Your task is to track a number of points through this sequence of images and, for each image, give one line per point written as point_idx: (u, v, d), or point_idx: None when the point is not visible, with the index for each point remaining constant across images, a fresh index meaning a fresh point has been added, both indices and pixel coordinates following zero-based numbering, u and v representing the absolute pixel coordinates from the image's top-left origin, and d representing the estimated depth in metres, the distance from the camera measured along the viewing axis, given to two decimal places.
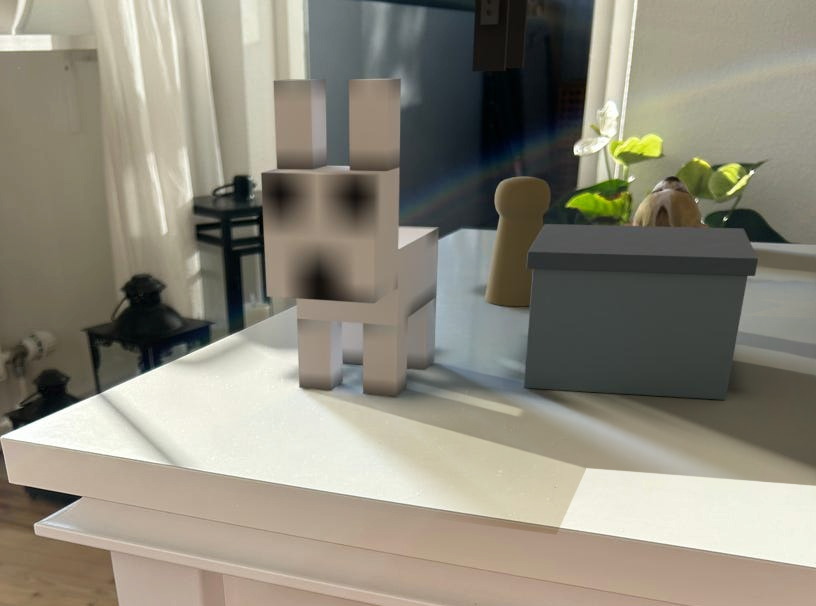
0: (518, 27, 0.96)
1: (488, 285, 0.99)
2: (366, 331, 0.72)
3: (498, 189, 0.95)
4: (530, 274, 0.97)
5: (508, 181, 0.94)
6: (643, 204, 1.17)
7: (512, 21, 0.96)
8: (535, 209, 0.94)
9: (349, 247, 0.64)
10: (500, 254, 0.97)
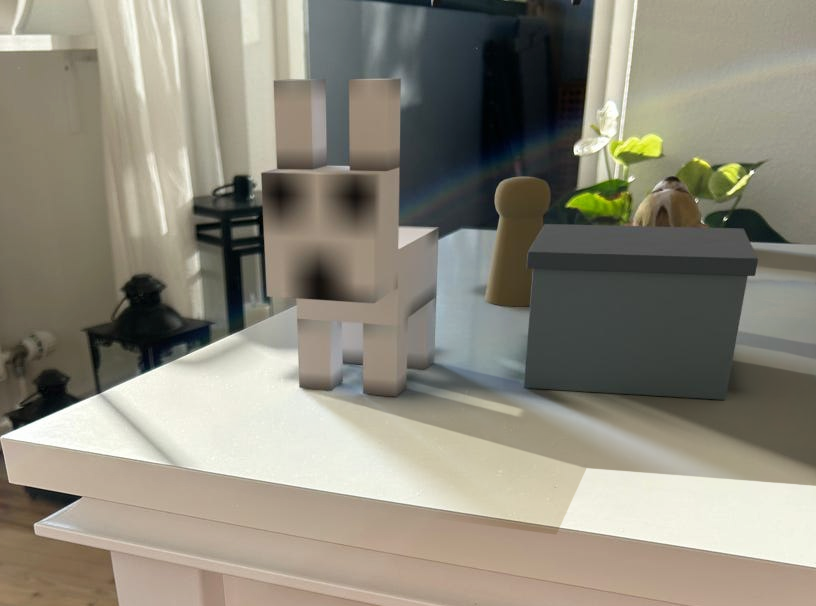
0: None
1: (488, 285, 0.99)
2: (366, 331, 0.72)
3: (498, 189, 0.95)
4: (530, 274, 0.97)
5: (509, 181, 0.94)
6: (643, 204, 1.17)
7: None
8: (535, 210, 0.94)
9: (349, 247, 0.64)
10: (500, 254, 0.97)
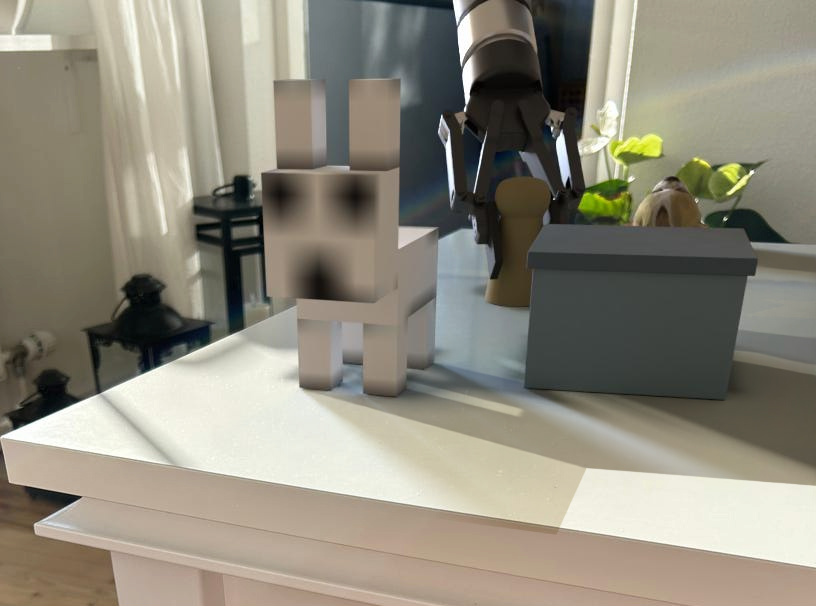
0: None
1: (488, 285, 0.99)
2: (366, 331, 0.72)
3: (498, 189, 0.95)
4: (530, 274, 0.97)
5: (509, 181, 0.94)
6: (643, 204, 1.17)
7: None
8: (535, 209, 0.94)
9: (349, 247, 0.64)
10: None
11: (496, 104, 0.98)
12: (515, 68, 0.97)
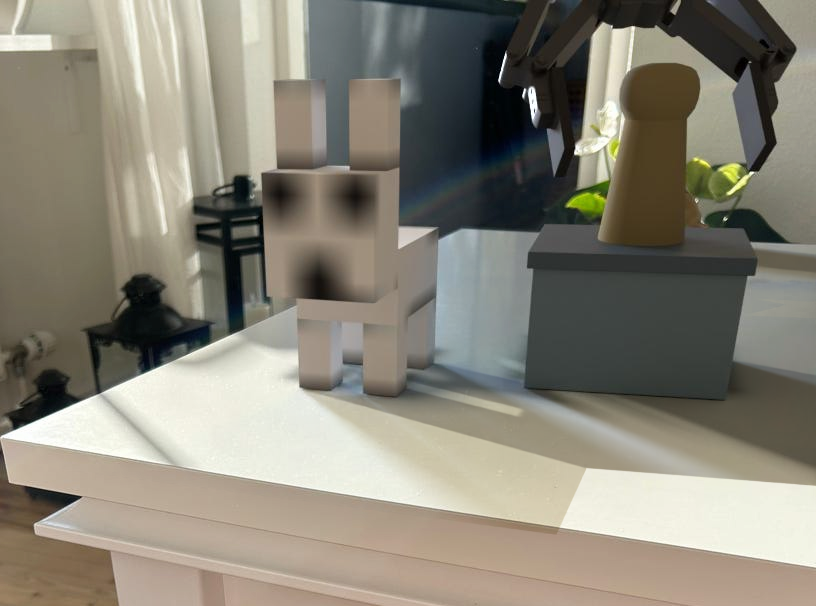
0: (753, 107, 0.69)
1: (605, 219, 0.72)
2: (366, 331, 0.72)
3: (627, 79, 0.68)
4: (668, 201, 0.70)
5: (643, 67, 0.67)
6: None
7: (747, 109, 0.70)
8: (681, 107, 0.67)
9: (349, 247, 0.64)
10: (626, 173, 0.70)
11: None
12: None
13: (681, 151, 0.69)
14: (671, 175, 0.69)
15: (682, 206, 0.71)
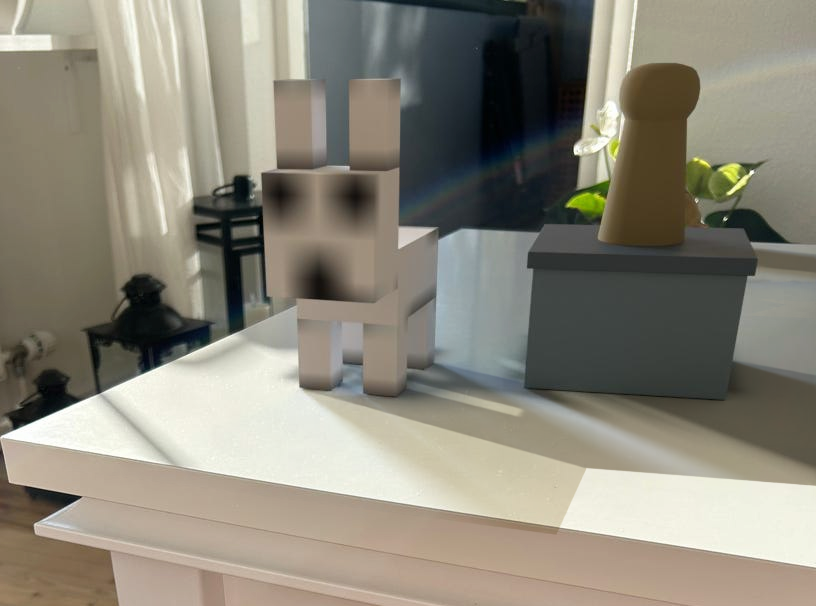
0: None
1: (605, 218, 0.72)
2: (366, 331, 0.72)
3: (627, 79, 0.68)
4: (668, 201, 0.70)
5: (643, 67, 0.67)
6: None
7: None
8: (681, 107, 0.67)
9: (349, 247, 0.64)
10: (626, 173, 0.70)
11: None
12: None
13: (681, 151, 0.69)
14: (671, 175, 0.69)
15: (682, 206, 0.71)
